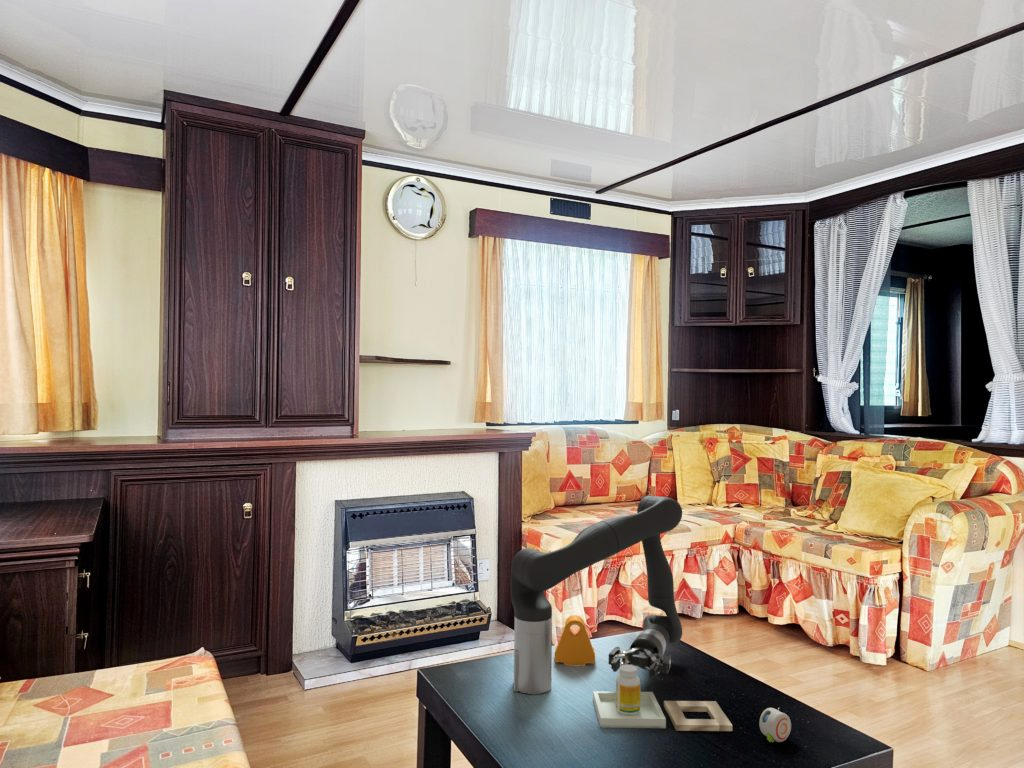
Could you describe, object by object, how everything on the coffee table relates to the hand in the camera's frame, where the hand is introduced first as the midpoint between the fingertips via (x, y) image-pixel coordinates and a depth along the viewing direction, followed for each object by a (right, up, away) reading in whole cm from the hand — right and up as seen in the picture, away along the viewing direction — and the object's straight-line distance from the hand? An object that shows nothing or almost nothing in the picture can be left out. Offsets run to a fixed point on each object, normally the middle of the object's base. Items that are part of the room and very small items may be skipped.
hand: (632, 670), depth 160 cm
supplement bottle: (-2, -8, -4) cm, 9 cm away
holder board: (+13, -8, -6) cm, 17 cm away
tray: (-2, -8, -4) cm, 9 cm away
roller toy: (+27, -8, -15) cm, 32 cm away
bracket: (-11, -9, +28) cm, 31 cm away
